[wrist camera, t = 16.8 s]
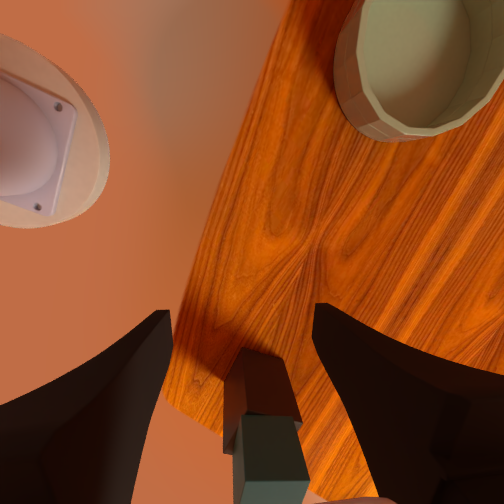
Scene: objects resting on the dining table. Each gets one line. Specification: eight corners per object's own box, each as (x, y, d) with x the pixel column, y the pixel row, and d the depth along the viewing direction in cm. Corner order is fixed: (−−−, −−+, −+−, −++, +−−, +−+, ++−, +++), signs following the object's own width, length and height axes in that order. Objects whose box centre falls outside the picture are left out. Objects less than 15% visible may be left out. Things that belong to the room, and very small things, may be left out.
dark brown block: (223, 382, 26) (222, 453, 19) (241, 346, 25) (247, 409, 18) (264, 392, 27) (276, 464, 20) (283, 359, 26) (303, 423, 19)
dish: (307, 101, 18) (325, 85, 15) (385, -70, 15) (428, -137, 12) (414, 165, 21) (450, 162, 17) (497, 25, 18) (559, -9, 15)
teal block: (232, 452, 19) (233, 524, 15) (240, 413, 18) (244, 481, 14) (281, 452, 20) (295, 522, 16) (292, 415, 19) (311, 481, 15)
